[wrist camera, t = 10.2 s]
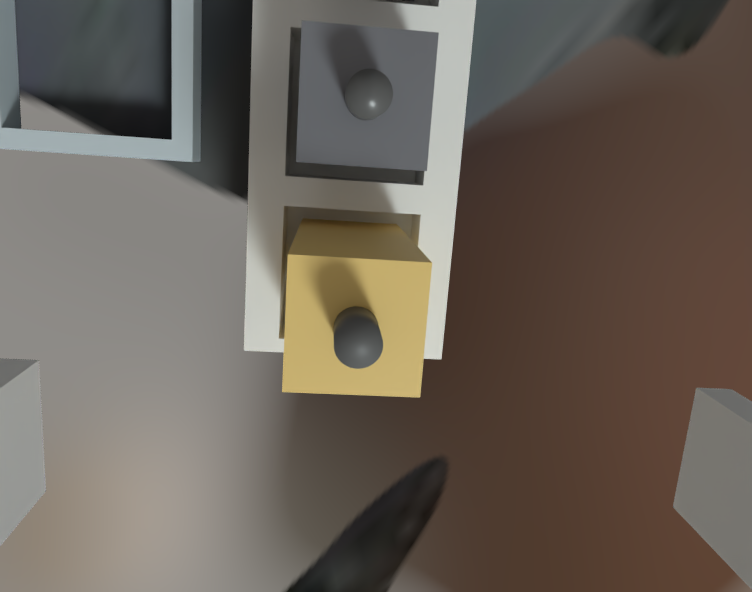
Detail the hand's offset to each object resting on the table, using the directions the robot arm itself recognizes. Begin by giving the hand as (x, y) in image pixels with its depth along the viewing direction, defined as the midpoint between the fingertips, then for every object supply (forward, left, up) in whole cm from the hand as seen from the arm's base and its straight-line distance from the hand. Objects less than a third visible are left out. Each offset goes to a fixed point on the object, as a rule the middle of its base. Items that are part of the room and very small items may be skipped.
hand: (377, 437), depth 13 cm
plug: (+1, 0, -22) cm, 22 cm away
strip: (-8, 0, -23) cm, 24 cm away
